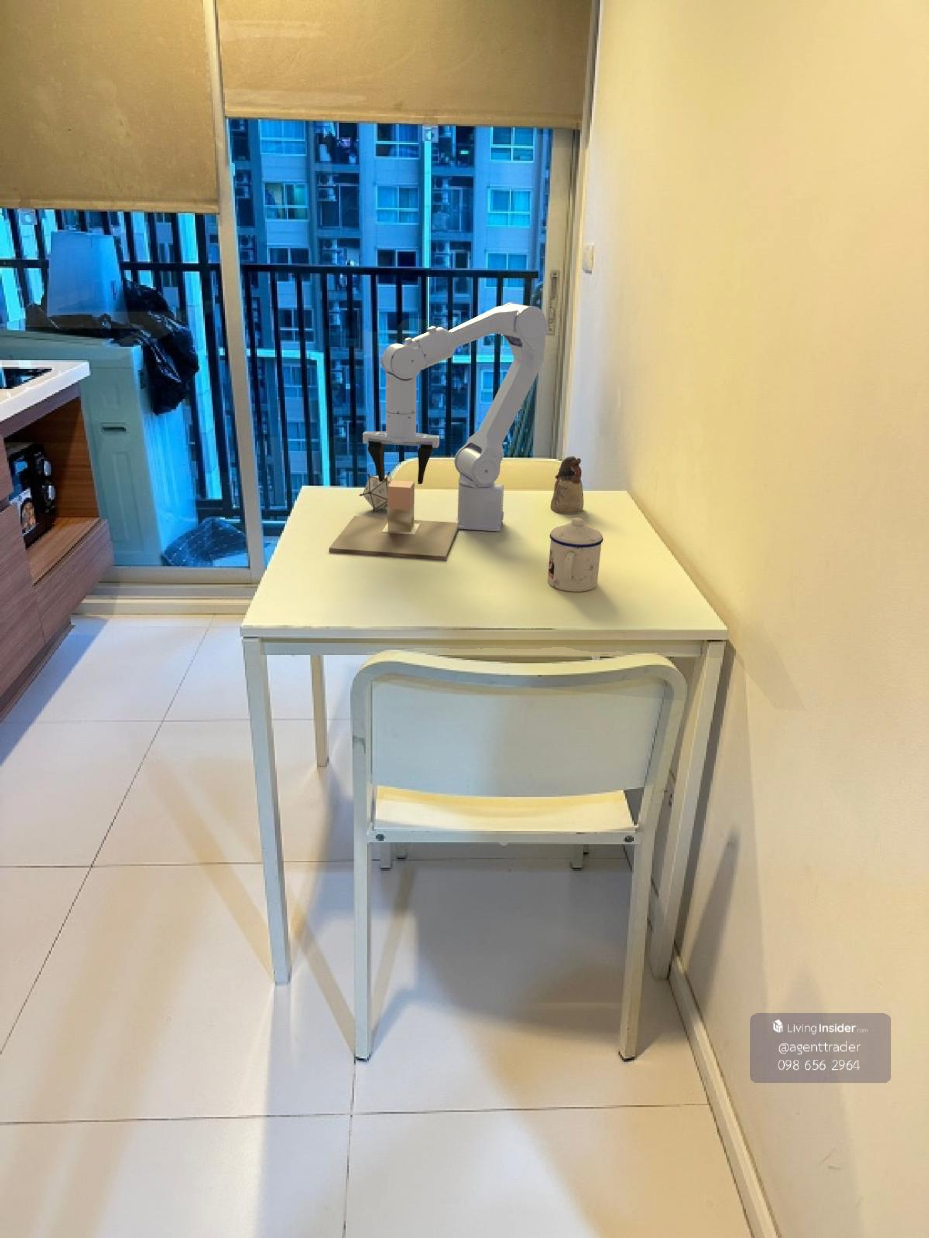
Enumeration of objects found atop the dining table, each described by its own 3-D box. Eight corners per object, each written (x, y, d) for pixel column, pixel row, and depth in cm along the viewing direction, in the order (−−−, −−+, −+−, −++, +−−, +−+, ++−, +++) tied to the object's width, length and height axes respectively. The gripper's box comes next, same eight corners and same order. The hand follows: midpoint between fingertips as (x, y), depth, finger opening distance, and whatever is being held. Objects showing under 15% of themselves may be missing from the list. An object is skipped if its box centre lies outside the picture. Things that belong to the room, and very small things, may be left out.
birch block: (414, 525, 168) (414, 503, 166) (410, 532, 164) (410, 510, 162) (392, 523, 168) (392, 502, 166) (387, 530, 164) (387, 508, 162)
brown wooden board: (459, 526, 171) (459, 522, 171) (445, 560, 153) (445, 555, 153) (354, 519, 173) (354, 515, 173) (329, 552, 155) (328, 547, 155)
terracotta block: (414, 503, 166) (414, 481, 164) (410, 510, 162) (410, 487, 160) (392, 502, 167) (392, 480, 165) (387, 508, 162) (387, 486, 161)
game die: (388, 528, 180) (400, 500, 172) (351, 513, 179) (361, 484, 171) (399, 498, 185) (411, 470, 177) (363, 484, 184) (373, 454, 176)
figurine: (569, 503, 189) (574, 451, 184) (589, 511, 183) (594, 458, 178) (544, 507, 185) (548, 454, 180) (563, 516, 180) (568, 461, 175)
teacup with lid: (551, 570, 150) (556, 508, 145) (601, 577, 148) (608, 514, 143) (538, 595, 139) (542, 529, 134) (591, 602, 137) (598, 536, 132)
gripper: (358, 413, 154) (360, 484, 159) (435, 417, 152) (434, 489, 158) (367, 406, 160) (368, 475, 166) (441, 410, 159) (440, 479, 164)
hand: (401, 481), depth 162 cm, fingers open, 7 cm apart
